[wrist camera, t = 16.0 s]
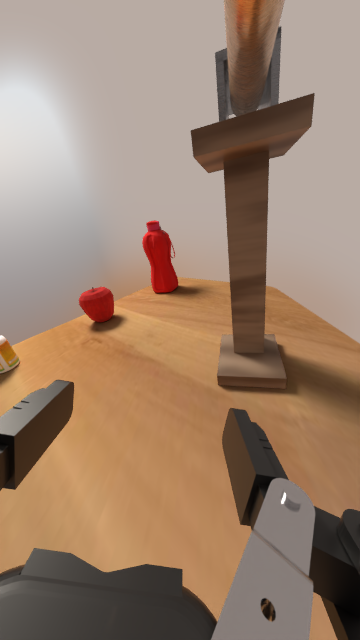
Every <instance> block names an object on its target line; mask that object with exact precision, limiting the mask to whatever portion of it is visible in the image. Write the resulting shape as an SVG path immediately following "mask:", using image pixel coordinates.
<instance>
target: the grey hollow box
mask: <svg viewBox="0 0 360 640" xmlns="http://www.w3.org/2000/svg"><path fill="white" fill-rule="evenodd" d="M280 46H281V27H278V31H277V35H276V39H275V44H274V48H273V52H272V56H271V61H270V65H269V69H268V74H267V78H266V82H265V86H264V91H263V95H262V99H261V102H260V105H259V107H258V110H260V109H263V108H267V107H270V106H273V105H277V104H278V98H279V71H280V48H281V47H280ZM215 58H216V75H217V92H218V109H219V122H221V121H224V120H227V119H229V115H231V114H234V113H233V111H232V109H231V103H230V87H229V71H228V56H227V48H226V49H223V50H221V51H219V52H216V53H215Z"/></svg>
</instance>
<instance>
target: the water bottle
mask: <svg viewBox="0 0 360 640" xmlns="http://www.w3.org/2000/svg"><path fill="white" fill-rule="evenodd" d="M147 228H148V232H147V233H146V234H145V236H144V237H143V248H144V251H145V253H146V255H147V257H148V260H149V262H150V265H151V283H152V288H153V290H154V292H156V293H168V292H171V291H173V290H174V289H175V288H176V287H177V286H178V279H177V276H176V273H175V271H174V268H173V266H172V263H171V258H170V257H171V245H172V244H171V241H170V238H169V235H168V234H167V233H166V232H165V231H163V230H161V227H160V226H159V222H158V221H150V222H148V223H147ZM172 247H173V246H172ZM173 249H174V248H173ZM174 254H175V252H174ZM174 256H175V255H174Z"/></svg>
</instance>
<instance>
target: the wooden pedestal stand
mask: <svg viewBox="0 0 360 640" xmlns="http://www.w3.org/2000/svg"><path fill="white" fill-rule="evenodd" d="M313 103H314V93H313V94H310V95H307V96H303V97H300V98H297V99H293V100H290V101H287V102H283V103H280V104H277V105H273V106H270V107H267V108H263V109H260V110H257V111H254V112H250V113H247V114H244V115H240V116H237V117H234V118H231V119H227V120H224V121H221V122H217V123H214V124H211V125H207V126H204V127H201V128H197V129H194V130H191V136H192V147H193V156H194V158H195V159H196V160H197V161H198V162H199V164H200V165H201V166H202V167H203V168H204V169H205V170H206V171H207V172H208V173H211V172H215V171H219V170H224V181H225V198H226V217H227V236H228V253H229V271H230V290H231V308H232V326H233V335H222V338H221V347H220V356H219V364H218V373H217V378H218V385H228V386H246V387H263V388H281V389H286V385H287V377H286V373H285V370H284V366H283V363H282V359H281V356H280V352H279V349H278V345H277V342H276V338H275V335H274V334H264V330H265V291H266V252H267V214H268V176H269V159H270V158H274V157H279V156H283V155H284V154H285V153H286V152H287V151H288V150H289V149H290V148H291V147H292V146H293V145H294V144H295V143H296V142H297V141H298V140H299V138H301V136H302V135H303V134H304V133H305V132H306V131H307V130H308V129H309V128H310V127H311V124H312V114H313Z"/></svg>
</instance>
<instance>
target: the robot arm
mask: <svg viewBox="0 0 360 640" xmlns="http://www.w3.org/2000/svg"><path fill="white" fill-rule="evenodd" d="M73 396H74V383H73V382H69V381H63V380H56V381H54V382H53V383H52V384H51V385H49V386H48V387H47V388H46V389H45V388H42V389H39V390H37V391H35V392H33V393H30V394H29V395H28V396H27V397H25V398H24V399H23V400H21V402H19V403H18V404H16V405H15V406H14V407H13V409H12V408H11V409H10V410H9V411H7V412H6V413H5V414H4V415H2V416H1V417H0V490H1V489H2V488H7V489H14V490H15V489H16V488H17V487H18V485H19V484H20V483H21V481H22V480H23V479H24V478H25V476H26V475H27V474H28V472H29V471H30V470H31V469H32V467H33V466H34V465H35V464H36V462H37V461H38V460H39V458H40V457H41V456H42V455H43V453H44V452H45V451H46V449H47V448H48V447H49V446H50V444H51V443H52V442H53V440H54V439H55V438H56V437H57V435H58V434H59V433H60V431H61V430H62V429H63V428H64V426H65V425H66V424H67V422H68V421H69V419H70V417H71V414H72V410H73ZM222 444H223V450H224V455H225V459H226V463H227V468H228V472H229V477H230V481H231V485H232V490H233V494H234V499H235V503H236V507H237V512H238V516H239V521H240V524H241V525H247V526H251V529H252V532H251V535H250V537H249V540H248V543H247V545H246V548H245V550H244V553H243V556H242V558H241V561H240V564H239V566H238V569H237V572H236V574H235V577H234V580H233V582H232V585H231V588H230V590H229V593H228V596H227V598H226V601H225V604H224V606H223V609H222V612H221V614H220V617H219V620H218V622H217V620H216V619H215V617H214V616H213V614H212V613H211V612H210V610H209V609H208V608H207V606H206V605H205V604H204V603H203V602H202V601H201V600H200V599H199V598H198V597H197V596H196V595H195V594H194V593H192V592H191V591H190V590H189V589H187V588H185V587H184V586H182V569H177V568H170V567H163V566H156V565H149V564H145V565H140V566H136V567H131V568H127V569H122V570H117V571H113V572H102V571H100V570H99V569H97V568H95V567H94V566H92V565H90V564H88V563H87V562H85V561H83V560H82V559H80V558H78V557H76V556H75V555H73V554H71V553H65V552H58V551H51V550H44V549H37V548H34V549H33V551H32V553H31V555H30V557H29V559H28V560H27V562H26V564H25V565H21V566H18V567H15V568H12V569H9V570H7V571H5V572H3V573H0V640H309V634H310V622H311V611H312V599H313V592H315V593H317V594H318V595H320V596H321V598H322V601H323V603H324V606H325V608H326V611H327V613H328V616H329V619H330V621H331V624H332V626H333V629H334V631H335V634H336V637H337V639H338V640H360V511H357V510H354V509H347V510H345V511H344V512H343V515H342V517H341V518H339V517H337V516H334V515H332V514H330V513H328V512H326V511H323V510H321V509H319V508H317V507H315V506H313V503H312V501H311V500H310V498H309V497H308V495H307V494H306V493H305V492H304V491H303V490H302V489H301V488H300V487H299V486H297V485H296V484H295V483H293V482H291V481H289V479H288V477H287V475H286V474H285V472H284V470H283V468H282V466H281V464H280V462H279V460H278V458H277V456H276V454H275V452H274V450H273V448H272V446H271V444H270V442H269V440H268V438H267V436H266V434H265V432H264V431H263V430H262V429H261V428H260V427H259V426H258V425H257V423H255V422H251V420H250V418H249V416H248V414H247V412H246V411H245V410H240V409H234V408H230V409H229V412H228V416H227V420H226V424H225V428H224V431H223V437H222Z"/></svg>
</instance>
